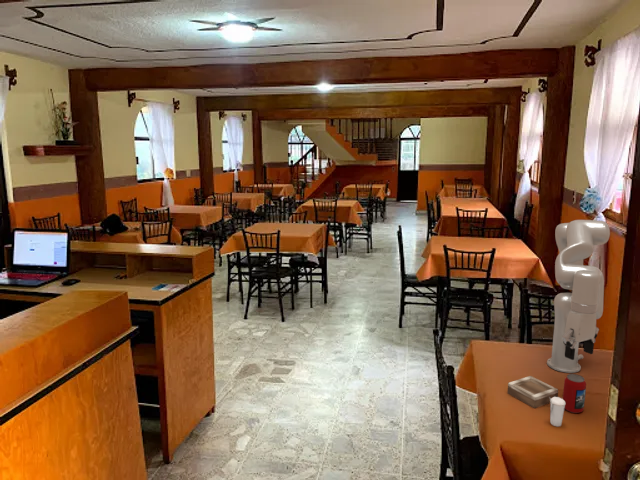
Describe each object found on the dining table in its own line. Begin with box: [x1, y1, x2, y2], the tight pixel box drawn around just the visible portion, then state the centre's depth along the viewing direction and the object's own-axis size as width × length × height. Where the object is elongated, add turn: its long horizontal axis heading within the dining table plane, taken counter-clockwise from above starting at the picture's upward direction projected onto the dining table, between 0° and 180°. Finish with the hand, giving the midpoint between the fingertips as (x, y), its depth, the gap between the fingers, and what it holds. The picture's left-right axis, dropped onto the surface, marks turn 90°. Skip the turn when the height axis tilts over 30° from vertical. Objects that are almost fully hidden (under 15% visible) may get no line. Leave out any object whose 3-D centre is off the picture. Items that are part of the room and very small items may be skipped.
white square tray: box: [507, 375, 559, 409], centre depth 179 cm, size 12×12×4 cm
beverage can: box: [562, 373, 587, 414], centre depth 170 cm, size 7×7×12 cm
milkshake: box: [549, 396, 566, 427], centre depth 161 cm, size 4×5×10 cm
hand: (578, 355), depth 166 cm, fingers open, 9 cm apart
